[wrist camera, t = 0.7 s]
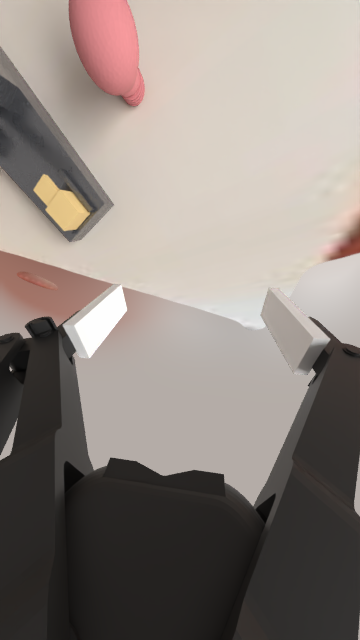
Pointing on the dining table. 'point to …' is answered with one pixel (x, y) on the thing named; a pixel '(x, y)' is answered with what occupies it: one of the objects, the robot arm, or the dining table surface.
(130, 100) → the light bulb
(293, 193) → the dining table surface
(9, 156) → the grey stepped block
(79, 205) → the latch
